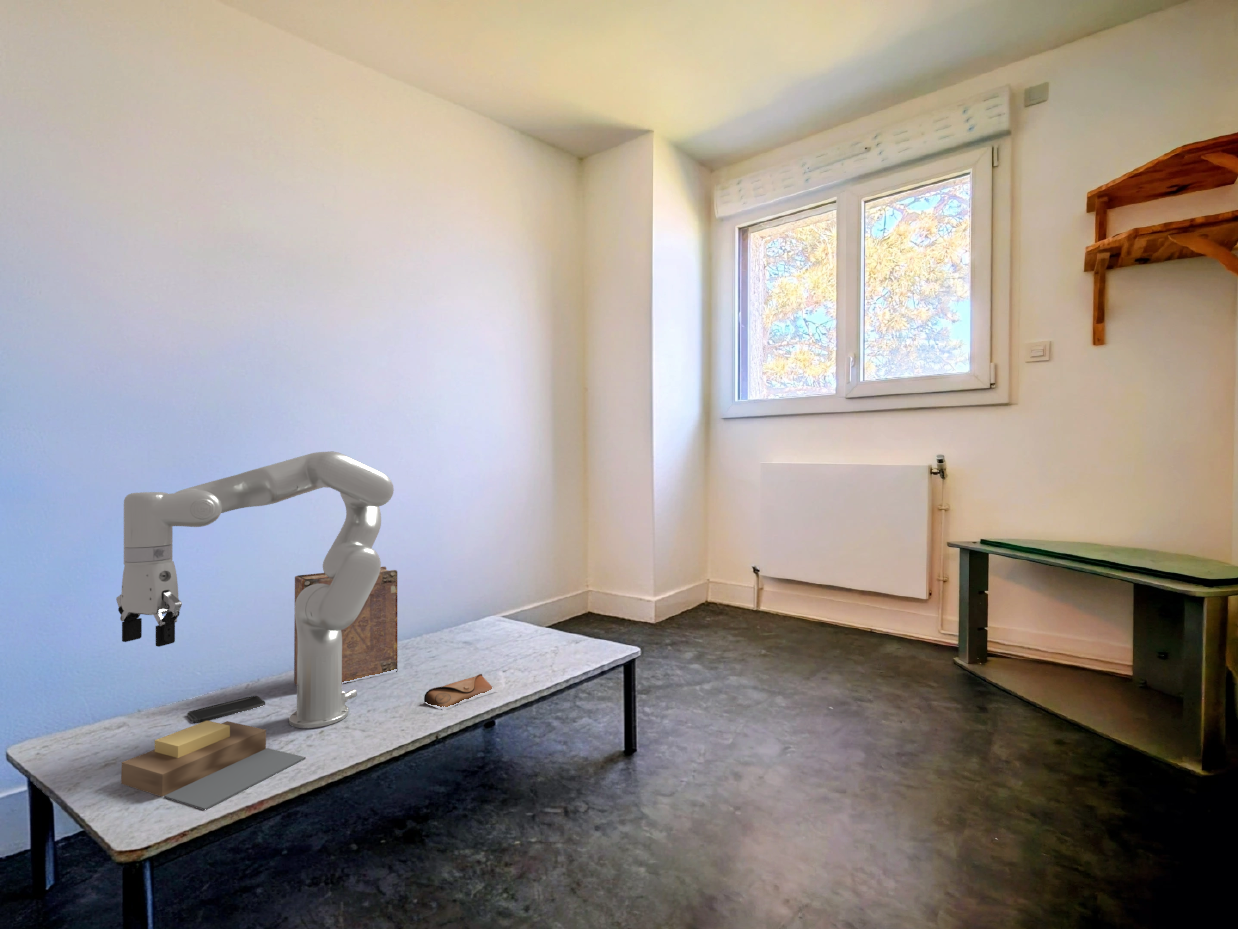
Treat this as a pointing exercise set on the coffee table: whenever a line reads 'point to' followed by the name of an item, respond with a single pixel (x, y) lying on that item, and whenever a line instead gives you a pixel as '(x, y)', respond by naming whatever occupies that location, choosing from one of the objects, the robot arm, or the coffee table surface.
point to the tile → (192, 738)
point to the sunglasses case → (457, 691)
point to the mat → (234, 778)
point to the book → (364, 628)
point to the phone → (225, 709)
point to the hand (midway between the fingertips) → (148, 642)
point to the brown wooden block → (191, 761)
